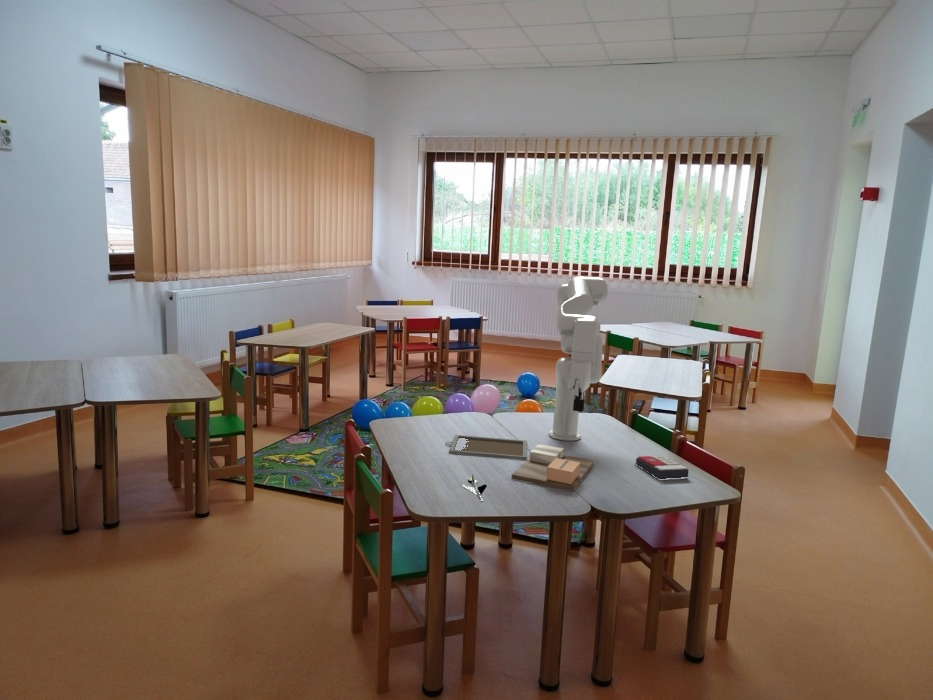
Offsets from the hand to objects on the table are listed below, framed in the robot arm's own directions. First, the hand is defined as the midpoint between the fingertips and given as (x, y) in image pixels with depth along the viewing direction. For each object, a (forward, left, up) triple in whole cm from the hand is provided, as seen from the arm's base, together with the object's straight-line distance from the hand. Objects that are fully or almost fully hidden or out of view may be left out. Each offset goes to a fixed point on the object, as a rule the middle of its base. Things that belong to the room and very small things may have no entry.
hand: (578, 410), depth 208 cm
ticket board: (+4, -5, -21) cm, 21 cm away
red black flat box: (-15, +27, -21) cm, 37 cm away
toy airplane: (+32, -22, -21) cm, 44 cm away
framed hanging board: (-5, -34, -21) cm, 40 cm away
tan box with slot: (+13, 0, -19) cm, 23 cm away
